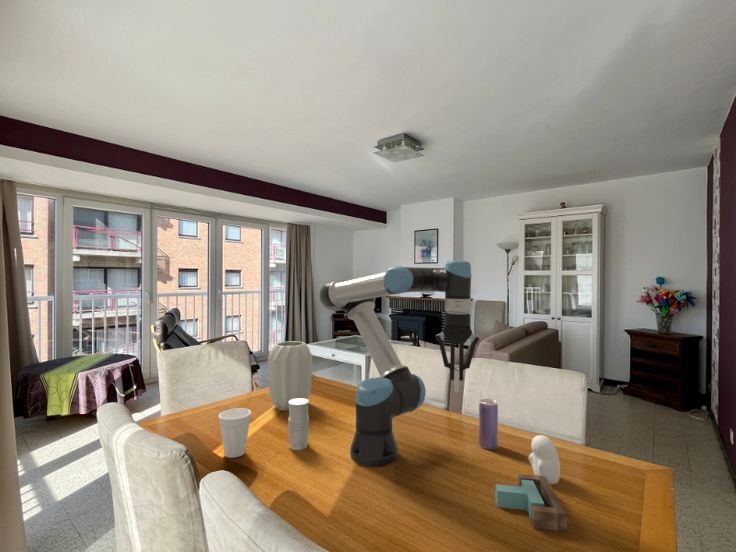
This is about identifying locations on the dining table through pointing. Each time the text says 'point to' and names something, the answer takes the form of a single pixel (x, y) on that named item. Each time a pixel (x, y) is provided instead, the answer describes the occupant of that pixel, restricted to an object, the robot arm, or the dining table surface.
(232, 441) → the cup
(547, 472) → the figurine
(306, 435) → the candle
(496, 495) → the t block
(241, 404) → the dining table surface
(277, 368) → the vase
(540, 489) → the bracket
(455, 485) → the dining table surface
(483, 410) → the beverage can
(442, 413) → the dining table surface
